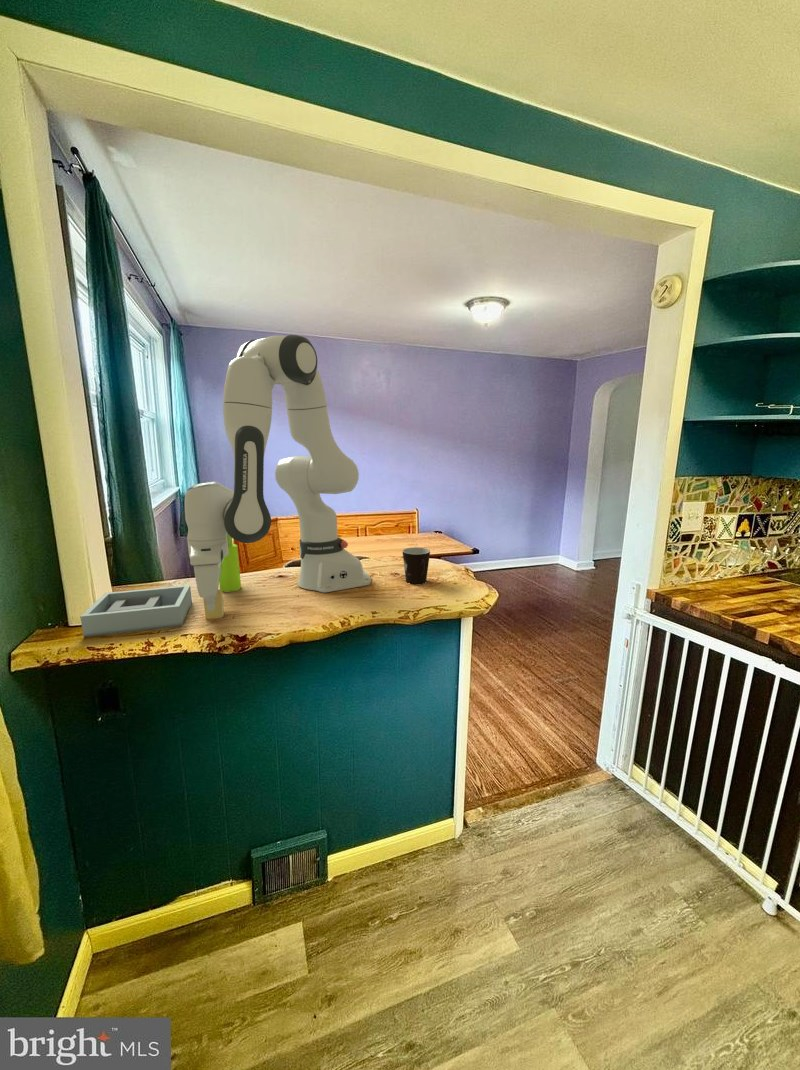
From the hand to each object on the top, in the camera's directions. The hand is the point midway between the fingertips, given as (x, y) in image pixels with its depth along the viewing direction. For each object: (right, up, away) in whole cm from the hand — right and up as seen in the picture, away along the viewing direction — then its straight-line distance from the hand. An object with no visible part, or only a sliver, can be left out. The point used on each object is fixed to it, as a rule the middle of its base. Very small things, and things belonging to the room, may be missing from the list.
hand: (213, 602), depth 106 cm
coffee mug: (+52, +2, +26) cm, 58 cm away
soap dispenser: (-4, +1, +21) cm, 22 cm away
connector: (0, -3, +2) cm, 4 cm away
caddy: (-18, -4, 0) cm, 18 cm away
